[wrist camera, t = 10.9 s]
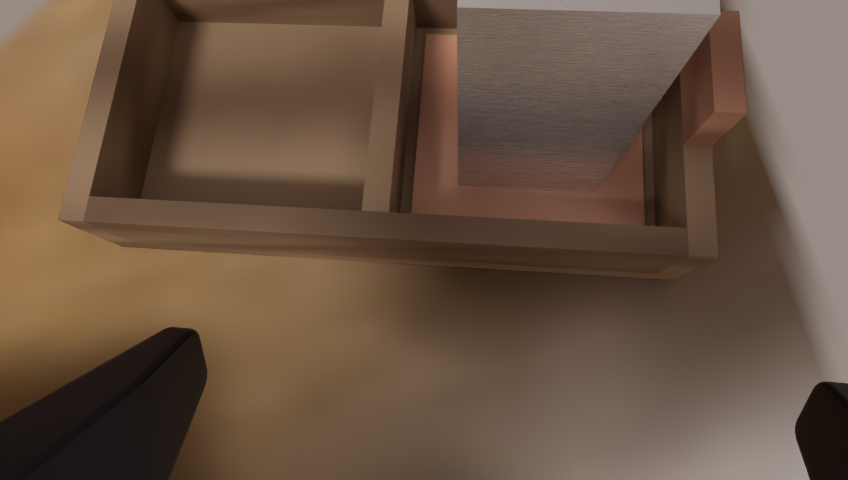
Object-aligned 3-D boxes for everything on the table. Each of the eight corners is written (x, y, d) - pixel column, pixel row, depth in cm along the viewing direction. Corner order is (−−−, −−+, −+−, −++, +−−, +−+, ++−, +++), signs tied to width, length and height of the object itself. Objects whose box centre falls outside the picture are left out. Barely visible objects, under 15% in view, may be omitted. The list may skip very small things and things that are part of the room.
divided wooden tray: (673, 280, 18) (757, 238, 13) (123, 246, 20) (4, 197, 14) (663, 29, 20) (731, -90, 15) (173, 16, 22) (87, -95, 17)
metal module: (594, 193, 18) (720, 14, 9) (457, 185, 18) (456, 7, 10) (594, 72, 19) (706, -189, 10) (465, 67, 19) (471, -188, 11)
